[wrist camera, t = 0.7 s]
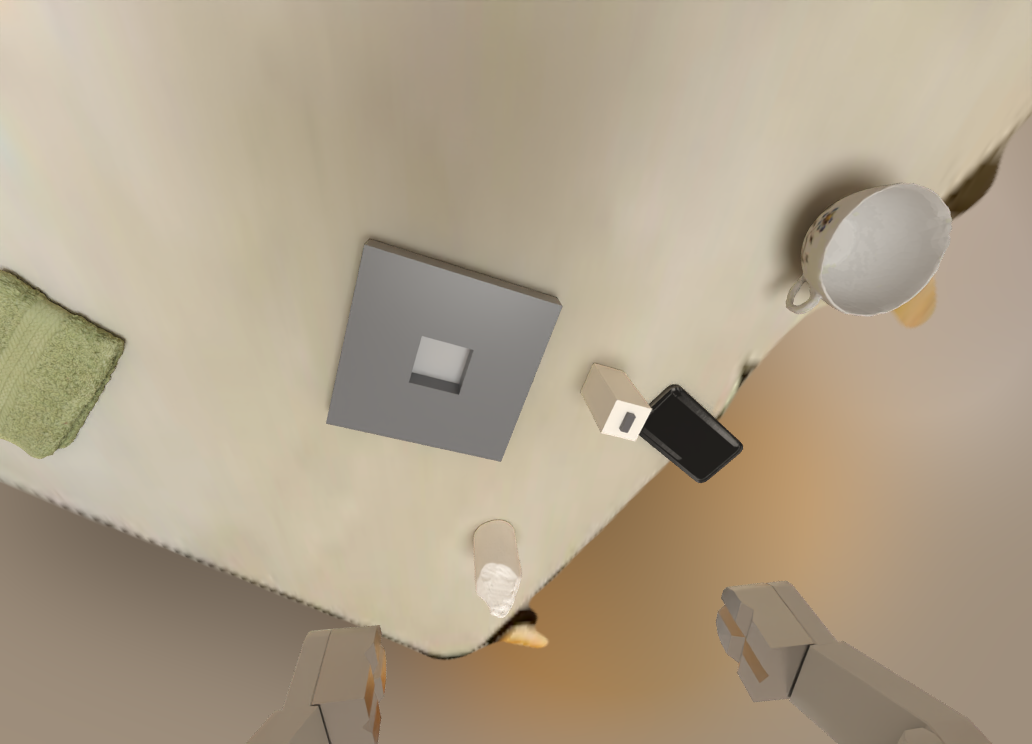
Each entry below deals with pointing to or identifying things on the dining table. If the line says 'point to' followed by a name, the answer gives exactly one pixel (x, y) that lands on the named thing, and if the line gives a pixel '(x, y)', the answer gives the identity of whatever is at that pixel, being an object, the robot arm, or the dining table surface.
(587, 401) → the charger plug
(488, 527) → the white bottle
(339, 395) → the grey socket board
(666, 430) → the phone
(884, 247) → the teacup
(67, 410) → the washcloth
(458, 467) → the dining table surface
